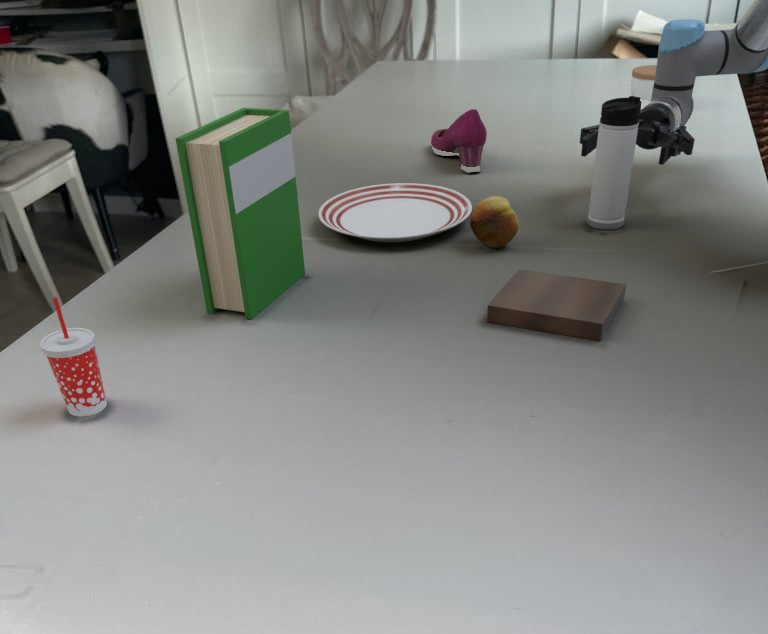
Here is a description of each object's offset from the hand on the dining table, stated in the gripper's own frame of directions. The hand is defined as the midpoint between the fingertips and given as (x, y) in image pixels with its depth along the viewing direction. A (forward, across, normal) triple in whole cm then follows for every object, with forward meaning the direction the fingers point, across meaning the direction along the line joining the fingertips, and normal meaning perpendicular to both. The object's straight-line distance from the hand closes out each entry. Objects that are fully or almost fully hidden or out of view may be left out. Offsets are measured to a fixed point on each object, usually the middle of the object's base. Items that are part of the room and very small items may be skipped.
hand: (622, 152), depth 139 cm
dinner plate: (+20, +34, -11) cm, 41 cm away
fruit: (+22, +14, -11) cm, 29 cm away
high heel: (-23, +42, -11) cm, 49 cm away
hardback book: (+55, +38, -11) cm, 68 cm away
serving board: (+42, -5, -11) cm, 44 cm away
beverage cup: (+92, +36, -11) cm, 100 cm away
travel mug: (+4, 0, -11) cm, 12 cm away
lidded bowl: (-83, +16, -11) cm, 86 cm away
